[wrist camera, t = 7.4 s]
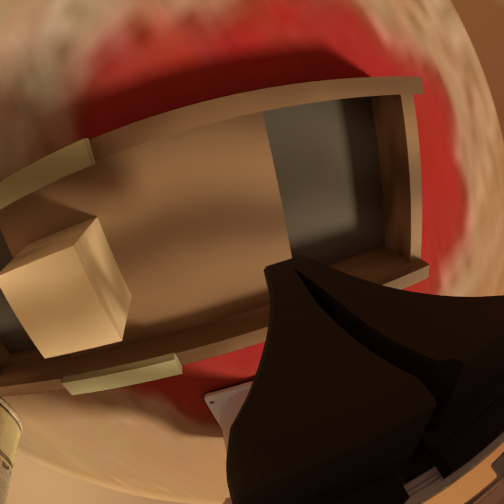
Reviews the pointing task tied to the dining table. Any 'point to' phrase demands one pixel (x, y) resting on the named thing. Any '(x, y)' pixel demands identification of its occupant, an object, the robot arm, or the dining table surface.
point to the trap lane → (220, 219)
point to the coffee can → (7, 445)
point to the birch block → (68, 290)
